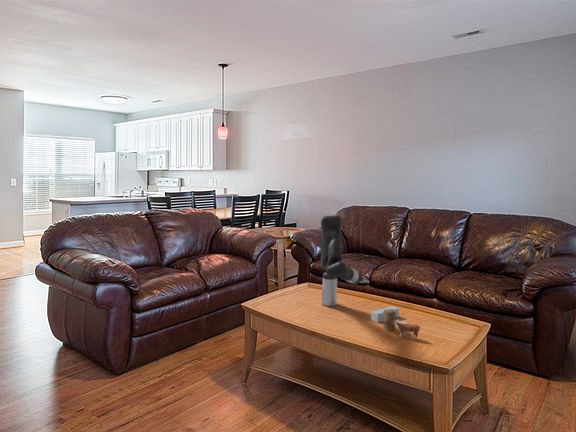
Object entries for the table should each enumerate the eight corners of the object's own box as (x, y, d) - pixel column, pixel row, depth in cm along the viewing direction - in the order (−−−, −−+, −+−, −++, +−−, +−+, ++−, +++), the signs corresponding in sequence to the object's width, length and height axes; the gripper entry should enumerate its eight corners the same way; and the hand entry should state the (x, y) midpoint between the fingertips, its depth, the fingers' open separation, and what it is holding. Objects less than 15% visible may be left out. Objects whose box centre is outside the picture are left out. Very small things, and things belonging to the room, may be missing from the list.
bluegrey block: (377, 314, 235) (399, 308, 246) (371, 311, 240) (392, 306, 250) (377, 322, 236) (398, 316, 246) (370, 319, 240) (392, 314, 250)
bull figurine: (394, 332, 221) (394, 317, 220) (420, 338, 214) (420, 322, 213) (391, 335, 217) (392, 320, 216) (418, 340, 210) (418, 325, 209)
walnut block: (386, 330, 224) (386, 312, 223) (383, 326, 229) (383, 309, 228) (395, 330, 225) (395, 312, 224) (392, 326, 230) (392, 309, 229)
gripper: (364, 272, 219) (378, 278, 232) (344, 265, 227) (358, 271, 240) (360, 286, 218) (374, 291, 231) (339, 278, 227) (354, 283, 240)
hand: (366, 281), depth 236 cm, fingers closed
